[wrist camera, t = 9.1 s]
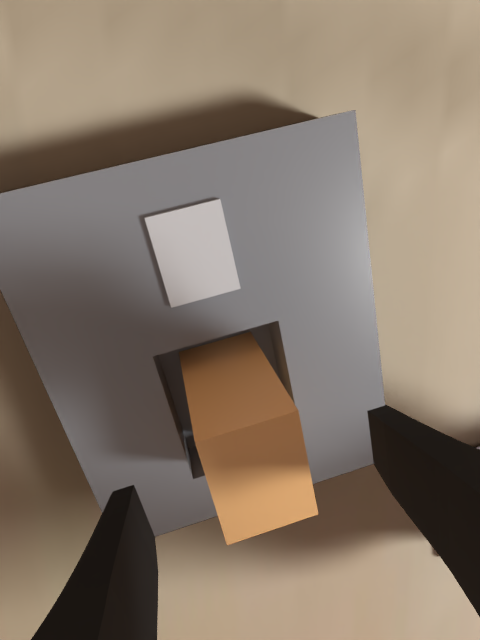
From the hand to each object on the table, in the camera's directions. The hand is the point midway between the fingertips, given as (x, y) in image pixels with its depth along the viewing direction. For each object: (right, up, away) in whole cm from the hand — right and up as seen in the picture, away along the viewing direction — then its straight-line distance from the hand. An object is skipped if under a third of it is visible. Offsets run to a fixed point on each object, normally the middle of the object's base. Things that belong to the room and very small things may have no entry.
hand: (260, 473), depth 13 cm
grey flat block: (-2, +4, +6) cm, 7 cm away
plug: (-1, +2, +5) cm, 6 cm away
